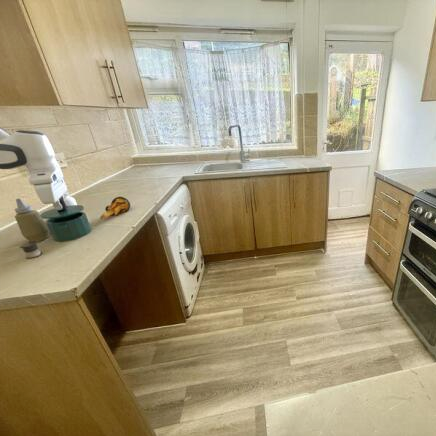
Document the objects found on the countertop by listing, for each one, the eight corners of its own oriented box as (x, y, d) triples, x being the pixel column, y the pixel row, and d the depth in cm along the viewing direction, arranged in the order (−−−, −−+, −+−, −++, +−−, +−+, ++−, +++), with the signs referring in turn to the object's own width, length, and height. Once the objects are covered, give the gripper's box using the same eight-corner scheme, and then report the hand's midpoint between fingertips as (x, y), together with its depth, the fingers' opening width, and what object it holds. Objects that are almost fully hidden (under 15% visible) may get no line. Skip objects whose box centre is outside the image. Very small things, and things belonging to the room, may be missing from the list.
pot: (48, 248, 95) (38, 228, 92) (60, 230, 110) (52, 213, 106) (88, 240, 101) (80, 221, 97) (94, 224, 115) (88, 207, 112)
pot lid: (36, 222, 93) (29, 208, 90) (47, 211, 104) (41, 198, 101) (81, 215, 99) (76, 202, 96) (87, 205, 110) (82, 193, 107)
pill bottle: (86, 221, 119) (73, 191, 112) (66, 227, 112) (51, 197, 106) (80, 218, 123) (67, 189, 116) (60, 224, 116) (45, 194, 110)
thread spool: (24, 260, 87) (17, 248, 85) (28, 255, 91) (22, 243, 89) (40, 257, 89) (34, 244, 87) (44, 251, 93) (38, 239, 91)
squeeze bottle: (57, 235, 105) (36, 196, 97) (34, 245, 98) (10, 203, 90) (45, 233, 107) (24, 194, 100) (22, 242, 100) (-2, 201, 93)
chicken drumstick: (136, 199, 132) (119, 199, 115) (131, 218, 133) (113, 222, 115) (118, 194, 131) (98, 194, 113) (113, 214, 131) (92, 217, 113)
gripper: (45, 170, 101) (58, 201, 107) (26, 181, 85) (43, 217, 91) (64, 168, 104) (76, 199, 110) (50, 178, 88) (65, 214, 93)
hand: (61, 207), depth 100 cm, fingers closed on pot lid, 3 cm apart
